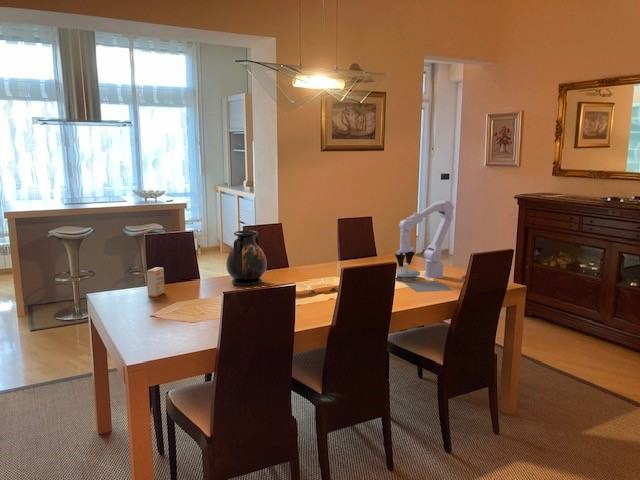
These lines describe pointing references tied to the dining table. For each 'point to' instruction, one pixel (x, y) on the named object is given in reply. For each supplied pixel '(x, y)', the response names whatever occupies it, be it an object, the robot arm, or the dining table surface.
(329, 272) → the dining table surface
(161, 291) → the supplement box
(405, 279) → the decorative bowl
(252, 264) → the amphora vase
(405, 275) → the lid
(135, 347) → the dining table surface
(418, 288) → the mat
